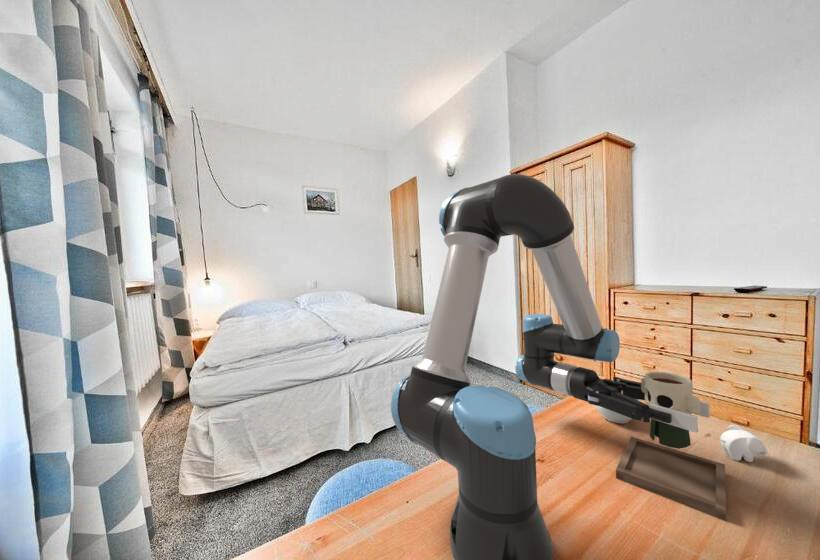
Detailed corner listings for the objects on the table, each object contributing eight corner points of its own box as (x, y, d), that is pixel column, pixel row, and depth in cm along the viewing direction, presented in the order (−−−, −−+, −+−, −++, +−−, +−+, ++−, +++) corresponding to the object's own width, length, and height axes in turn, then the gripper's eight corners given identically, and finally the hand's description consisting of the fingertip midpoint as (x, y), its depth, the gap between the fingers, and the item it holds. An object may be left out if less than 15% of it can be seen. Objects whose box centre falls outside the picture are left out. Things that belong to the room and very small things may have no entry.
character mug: (629, 430, 64) (627, 370, 63) (657, 425, 65) (655, 366, 64) (684, 462, 53) (682, 391, 52) (716, 455, 54) (715, 385, 54)
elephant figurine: (781, 471, 58) (780, 442, 58) (728, 465, 61) (727, 436, 61) (754, 451, 65) (754, 424, 64) (707, 446, 67) (707, 420, 67)
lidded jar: (650, 427, 76) (649, 391, 76) (608, 429, 76) (607, 393, 76) (621, 407, 87) (620, 375, 86) (584, 409, 87) (583, 377, 87)
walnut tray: (726, 521, 48) (726, 510, 48) (616, 478, 59) (615, 469, 59) (725, 473, 59) (724, 464, 59) (631, 444, 69) (631, 436, 69)
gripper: (595, 385, 79) (717, 418, 60) (553, 409, 68) (686, 459, 49) (594, 357, 79) (716, 382, 60) (552, 377, 68) (685, 415, 49)
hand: (703, 417), depth 54 cm, fingers closed on character mug, 7 cm apart
